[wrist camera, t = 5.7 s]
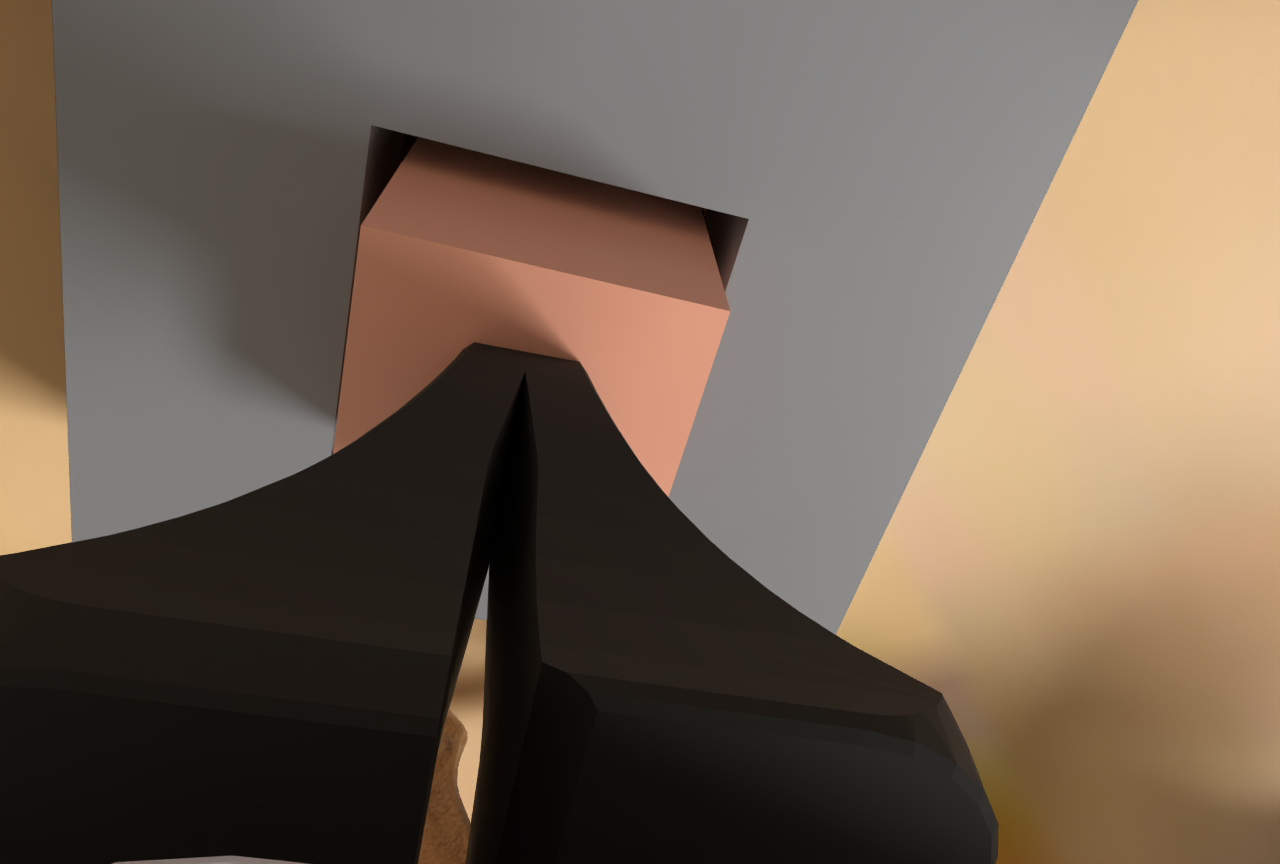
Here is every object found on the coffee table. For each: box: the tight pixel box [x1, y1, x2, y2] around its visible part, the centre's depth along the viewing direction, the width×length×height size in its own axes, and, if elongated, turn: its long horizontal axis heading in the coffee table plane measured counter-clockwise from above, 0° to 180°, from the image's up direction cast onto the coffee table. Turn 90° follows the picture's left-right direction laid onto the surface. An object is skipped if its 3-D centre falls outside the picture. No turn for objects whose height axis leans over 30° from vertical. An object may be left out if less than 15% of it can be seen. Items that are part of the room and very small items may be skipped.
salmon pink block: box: [333, 137, 730, 497], centre depth 13 cm, size 4×4×4 cm
